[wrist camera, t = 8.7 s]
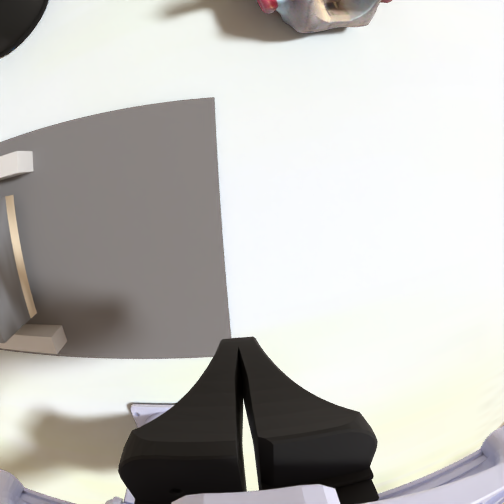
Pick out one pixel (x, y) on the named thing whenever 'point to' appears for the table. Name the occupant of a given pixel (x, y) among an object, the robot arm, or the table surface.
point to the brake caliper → (322, 13)
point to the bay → (121, 233)
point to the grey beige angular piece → (12, 275)
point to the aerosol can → (18, 21)
